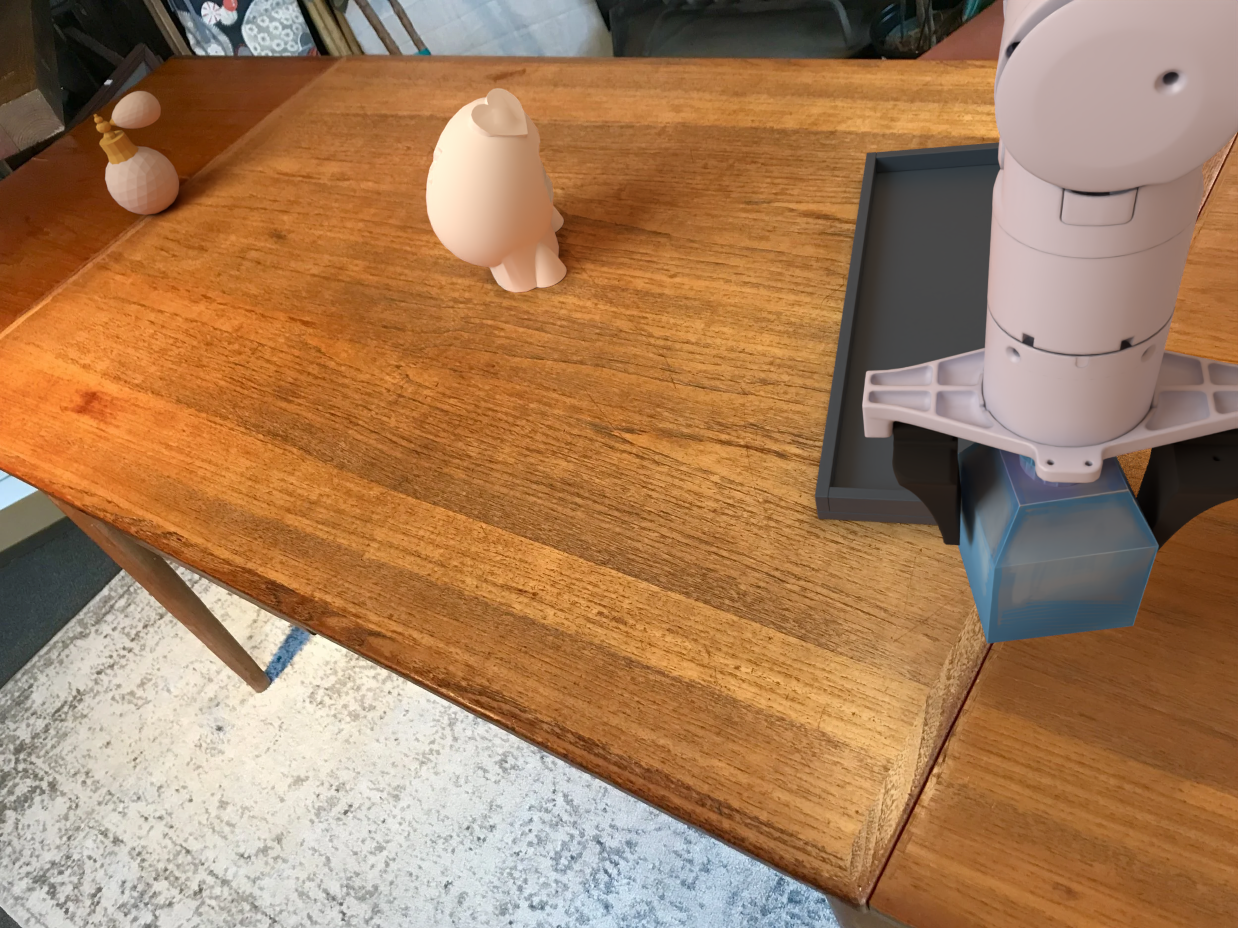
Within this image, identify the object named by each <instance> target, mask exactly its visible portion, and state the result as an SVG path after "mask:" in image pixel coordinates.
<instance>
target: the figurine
mask: <svg viewBox="0 0 1238 928" xmlns="http://www.w3.org/2000/svg"><path fill="white" fill-rule="evenodd" d="M539 132H540V130H539V128H538V127H537V125H536V124H535V123H534V121H533V120H532V118H531V117H530V115H528V113H526V111H525V110H524V108H523V106H522V103H521V101H520V100H519V99H518V97H516V96H515V95H514V94H513V93H511V92H510V91H508V90H507V89H504V88H501V87H496V88H492V89H491V90H489V91H488V93H487V94H486V96H483V97H480V98H477V99H475V100H473V101H471V102H469V103H467V104H465V105H464V106H462V107H461V108H460V109H459V110H458V111H457V112H456V113H455V114H454V115H453V116H452V117H451V118H450V119H449V121H448V122H447V124H446V125H445V127H444V129H443V130H442V132H441V133H440V136H439V138H438V140H437V143H436V146H435V148H434V151H433V156H432V159H433V160H432V162H431V165H430V167H429V170H428V175H427V179H426V189H425V190H426V192H425V201H426V212H427V217H428V219H429V223H430V225H431V228H432V230H433V232H434V233H435V235H436V237H437V238H438V240H439V242H441V244H442V246H444V247H445V248H446V249H447V250H448V251H449V252H450V253H452V254H453V255H454V256H455V257H456V258H458V259H459V260H462V261H464V262H466V263H468V264H471V265H473V266H479V267H481V268H482V267H484V268H489V269H490V272H491V275H492V276H493V278H494V280H495V281H496V283H497V285H498V286H500V287H501V288H502V289H504V290H505V291H508V292H512V293H524V292H525V293H527V292H529V291H531V290H533V289H535V288H539V289H540V288H541V289H542V288H549V287H551V286H552V287H553V286H555V285H556V284H558V283H560V282H561V281H562V280H563V279H564V278H565V277H566V274H567V267H566V265H565V264H564V263H563V261H562V260H561V259H560V258H559V251H560V246H559V242H558V237H557V235H556V232H558V231H559V230H560V229H561V228H562V227H563V226H564V223H565V222H564V221H565V220H564V217H563V216H562V214H560V212H559V210H558V209H557V208H556V207H555V206H554V200H555V199H554V198H555V197H554V196H555V192H554V187H553V186H554V185H553V181H552V180H551V177H550V176H549V174H547V171H546V168H545V165H544V163H543V161H542V158H541V156H540V144H541V143H542V141H541V136H540V133H539Z"/></svg>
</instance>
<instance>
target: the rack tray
mask: <svg viewBox="0 0 1238 928" xmlns="http://www.w3.org/2000/svg"><path fill="white" fill-rule="evenodd" d="M998 151H999V141H997V142H987V143H971V144H961V145H959V144H958V145H947V146H936V147H934V146H933V147H923V148H922V147H921V148H910V149H898V150H886V151H885V150H884V151H877V152H876V151H873V152H872V151H871V152H866V155H865V162H864V167H863V174H862V181H861V187H860V194H859V201H858V208H857V214H856V221H855V227H854V234H853V241H852V247H851V254H850V261H849V266H848V268H849V269H848V273H847V281H846V286H845V293H844V301H843V307H842V313H841V321H840V325H839V326H840V327H839V334H838V341H837V346H836V354H835V360H834V365H833V366H834V368H833V373H832V380H831V387H830V393H829V400H828V406H827V413H826V419H825V424H824V425H825V426H824V431H823V432H824V433H823V440H822V446H821V453H820V459H819V466H818V471H817V472H818V473H817V478H816V486H815V491H814V501H815V507H816V513H817V519H819V520H834V521H835V520H837V521H852V522H853V521H854V522H874V523H890V524H891V523H893V524H911V525H928V526H929V525H932V526H938V525H937V523H936V521H935V519H934V518H933V516H932V514H931V513H930V511H929V510H928V508H927V507H926V506H925V505H924V503H923V502H922V501H921V500H920V499H919V498H918V497H917V496H916V495H915V494H913V493H912V492H911V491H909V490H908V489H906V488H904V487H902V486H900V485H899V483H898V481H897V479H896V477H895V474H894V471H893V466H892V458H893V440H894V438H893V434H892V435H891V436H890V437H887V438H875V437H865V432H864V420H863V408H862V404H863V395H864V386H865V377H866V372H867V371H877V370H891V369H899V368H905V367H910V366H915V365H919V364H923V363H927V362H931V361H935V360H939V359H943V358H947V357H951V356H955V355H959V354H963V353H967V352H971V351H975V350H979V349H983V348H985V338H986V320H987V302H988V301H987V295H988V277H989V260H990V242H991V224H992V202H993V188H994V184H995V181H996V178H997V175H998V173H999V171H1000V169H1001V168H1000V164H999V161H998ZM973 443H975V442H973V441H970V440H966V439H963V438H959V437H958V453H959V452H961V451H963V450H964V449H966V448H967V447H969V446H970V445H972V444H973Z"/></svg>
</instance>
